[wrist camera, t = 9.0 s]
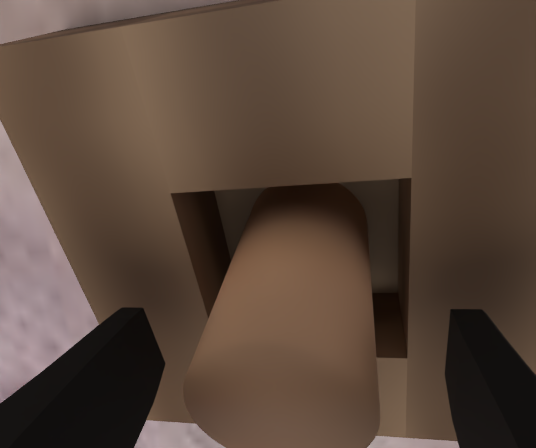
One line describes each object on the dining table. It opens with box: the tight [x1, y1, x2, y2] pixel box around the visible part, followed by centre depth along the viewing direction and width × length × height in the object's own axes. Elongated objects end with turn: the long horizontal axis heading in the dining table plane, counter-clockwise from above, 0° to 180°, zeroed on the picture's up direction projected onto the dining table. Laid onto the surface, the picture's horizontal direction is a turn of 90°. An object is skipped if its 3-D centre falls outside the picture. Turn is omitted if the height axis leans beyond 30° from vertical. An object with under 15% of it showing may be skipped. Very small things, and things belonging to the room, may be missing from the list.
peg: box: [183, 183, 380, 448], centre depth 11 cm, size 4×4×7 cm
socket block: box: [0, 0, 536, 441], centre depth 13 cm, size 14×14×4 cm
